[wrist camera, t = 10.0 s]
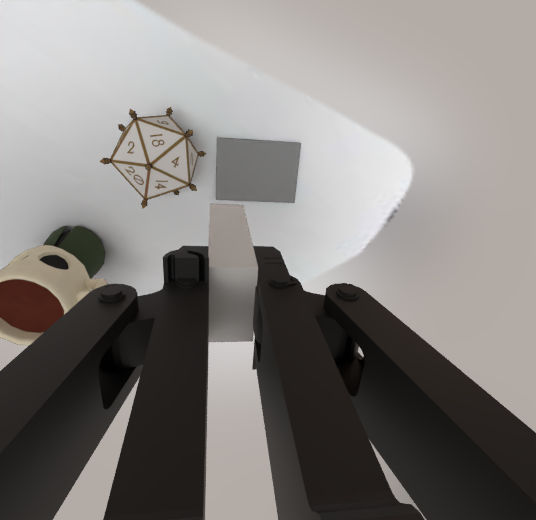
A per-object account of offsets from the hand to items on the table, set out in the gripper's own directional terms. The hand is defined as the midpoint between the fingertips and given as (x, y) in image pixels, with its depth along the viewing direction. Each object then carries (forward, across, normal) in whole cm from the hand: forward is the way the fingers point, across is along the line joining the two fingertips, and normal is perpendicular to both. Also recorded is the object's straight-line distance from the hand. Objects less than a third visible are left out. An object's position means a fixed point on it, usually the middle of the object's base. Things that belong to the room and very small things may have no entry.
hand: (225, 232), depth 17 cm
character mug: (+25, -16, -12) cm, 32 cm away
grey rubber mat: (+24, +4, -2) cm, 25 cm away
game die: (+25, -6, 0) cm, 25 cm away
